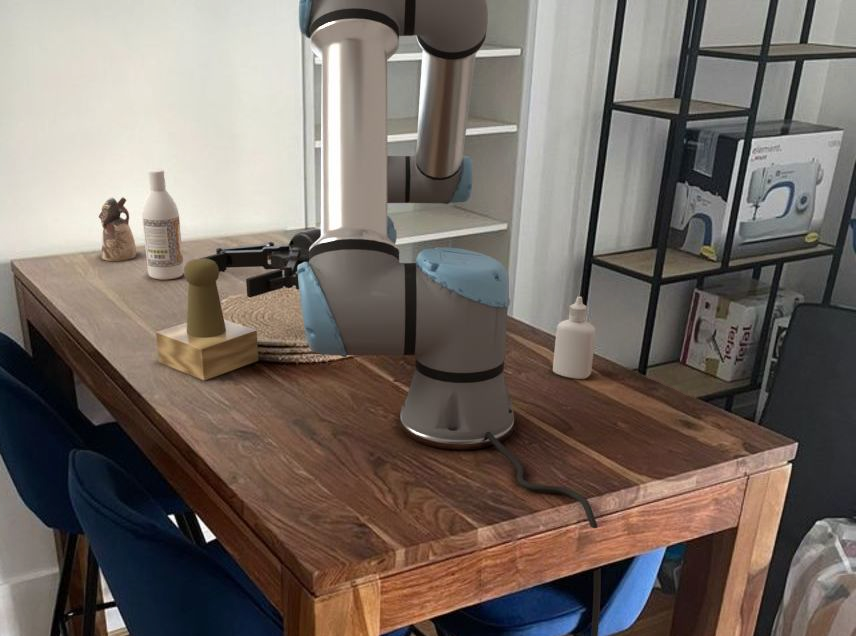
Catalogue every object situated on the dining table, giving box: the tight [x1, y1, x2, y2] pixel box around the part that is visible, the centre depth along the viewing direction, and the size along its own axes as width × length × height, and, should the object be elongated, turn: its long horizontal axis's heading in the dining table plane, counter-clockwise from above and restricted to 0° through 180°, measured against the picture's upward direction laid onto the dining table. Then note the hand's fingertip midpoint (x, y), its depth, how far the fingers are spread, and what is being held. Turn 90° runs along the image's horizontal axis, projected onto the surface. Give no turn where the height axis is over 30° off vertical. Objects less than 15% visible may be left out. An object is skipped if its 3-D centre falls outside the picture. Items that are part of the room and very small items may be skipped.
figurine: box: [98, 196, 137, 262], centre depth 208 cm, size 7×7×12 cm
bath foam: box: [141, 168, 185, 281], centre depth 194 cm, size 7×7×20 cm
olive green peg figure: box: [183, 258, 226, 338], centre depth 154 cm, size 6×6×11 cm
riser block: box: [155, 318, 259, 381], centre depth 158 cm, size 11×11×5 cm
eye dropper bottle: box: [552, 295, 596, 380], centre depth 150 cm, size 4×6×12 cm
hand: (219, 278), depth 155 cm, fingers open, 13 cm apart
